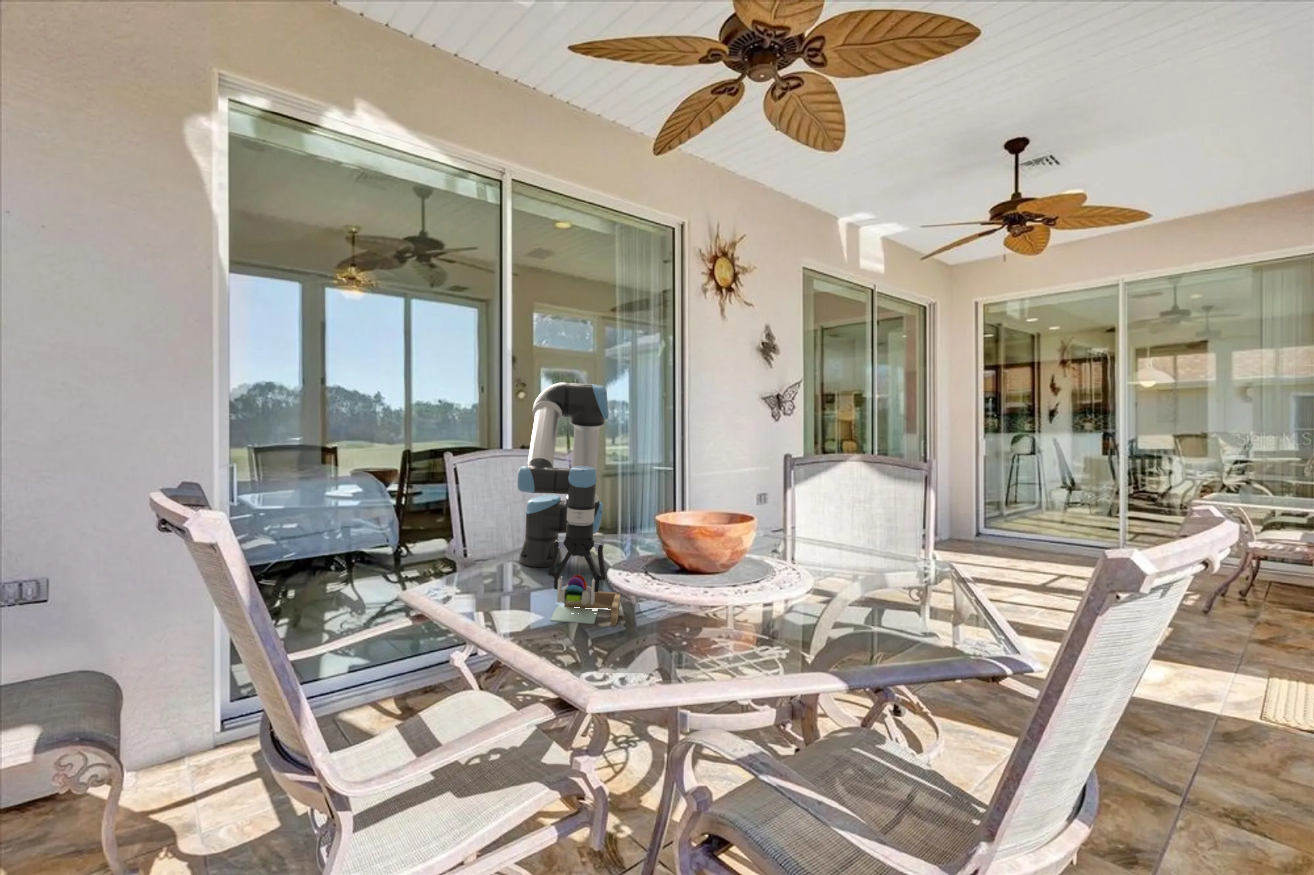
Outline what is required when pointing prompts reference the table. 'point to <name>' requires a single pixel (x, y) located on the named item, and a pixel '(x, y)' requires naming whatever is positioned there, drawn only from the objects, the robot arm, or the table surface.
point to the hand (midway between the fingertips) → (575, 601)
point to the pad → (574, 615)
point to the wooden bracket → (602, 603)
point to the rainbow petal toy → (576, 591)
